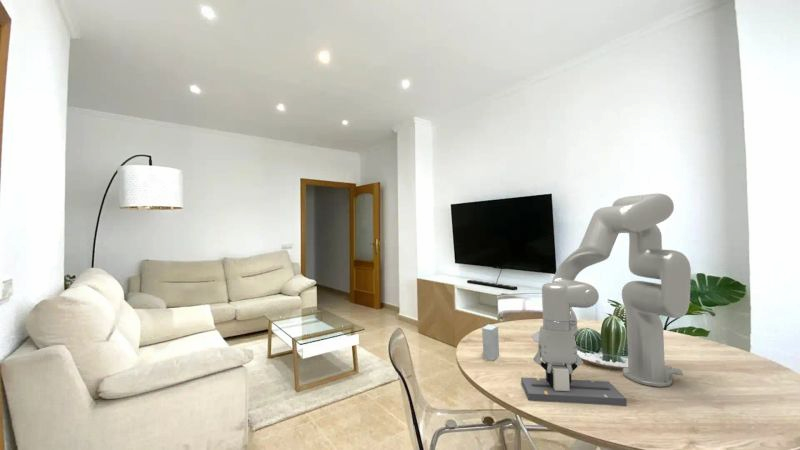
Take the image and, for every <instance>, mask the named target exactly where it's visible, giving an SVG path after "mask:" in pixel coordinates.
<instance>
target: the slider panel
mask: <svg viewBox="0 0 800 450" xmlns="http://www.w3.org/2000/svg"><path fill="white" fill-rule="evenodd" d="M520 379H521V381H520V382H521V383H520V384H521V386H522V388H523V391H524V393H525V395H526V397H527V399H528V401H534V402H551V403H553V402H555V403H571V404H572V403H573V404H589V405H602V406H603V405H607V406H608V405H609V406H623V407H627V405H628V404H627V403H628V401H627V399H628V398H627V397H625V396H624V395H623V394H622V392H621V391H619V390H618V389H617V388H616V387H615V386H614V385H613V384H612V383H611V382H610V381H608V380H592V379H591V380H588V379H571V383H570V387H569V388H570V391H557V390H555V389H554V388H553V386H550V384H549V383H548V382H547V381H546V377H544V378H542V377H541V378H540V377H526V376H525V377H523V376H521V377H520Z"/></svg>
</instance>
